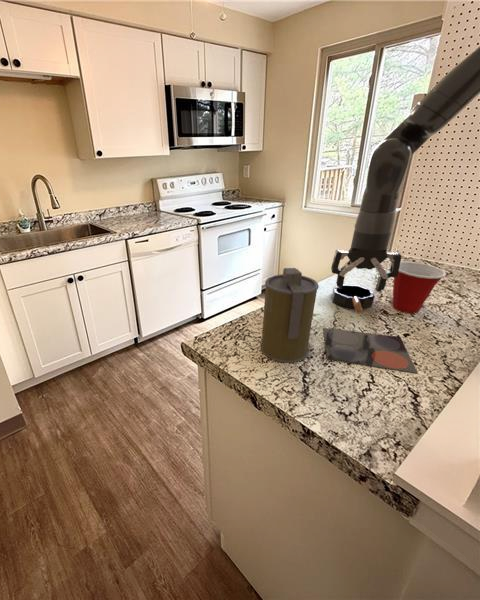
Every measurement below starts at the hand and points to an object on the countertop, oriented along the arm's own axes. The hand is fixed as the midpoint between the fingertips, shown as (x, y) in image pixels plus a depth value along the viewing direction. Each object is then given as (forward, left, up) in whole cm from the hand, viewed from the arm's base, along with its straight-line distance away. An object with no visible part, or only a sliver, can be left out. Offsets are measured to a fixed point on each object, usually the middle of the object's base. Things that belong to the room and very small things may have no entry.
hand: (358, 289), depth 83 cm
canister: (+17, +24, -7) cm, 30 cm away
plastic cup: (-13, -6, -7) cm, 16 cm away
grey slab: (0, +18, -7) cm, 19 cm away
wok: (0, -3, -7) cm, 8 cm away
